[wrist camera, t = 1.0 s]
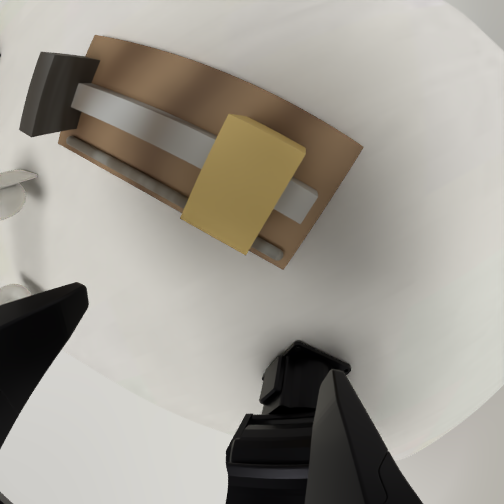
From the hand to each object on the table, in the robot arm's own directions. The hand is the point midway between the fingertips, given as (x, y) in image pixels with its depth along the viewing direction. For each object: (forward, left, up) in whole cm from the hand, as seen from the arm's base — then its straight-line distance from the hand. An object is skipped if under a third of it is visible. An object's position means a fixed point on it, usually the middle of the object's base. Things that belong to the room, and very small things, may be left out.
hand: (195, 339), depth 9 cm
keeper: (+2, -3, -11) cm, 11 cm away
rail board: (+8, -3, -12) cm, 15 cm away
